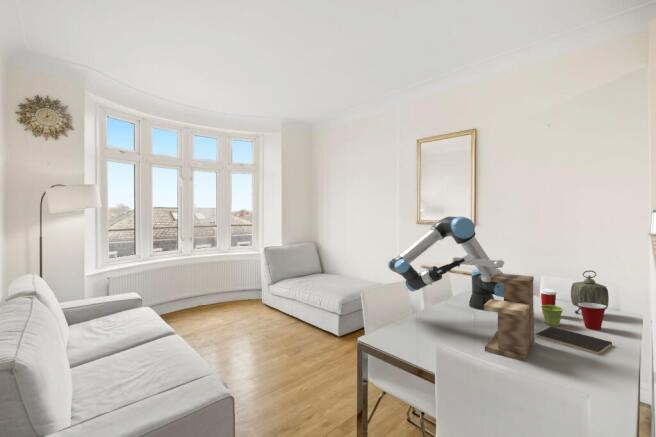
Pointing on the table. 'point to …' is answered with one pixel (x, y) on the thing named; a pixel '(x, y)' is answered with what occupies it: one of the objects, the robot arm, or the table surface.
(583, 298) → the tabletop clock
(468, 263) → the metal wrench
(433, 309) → the table surface
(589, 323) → the plastic cup
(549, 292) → the paper cup
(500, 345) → the step stand
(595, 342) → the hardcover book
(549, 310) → the plant pot
